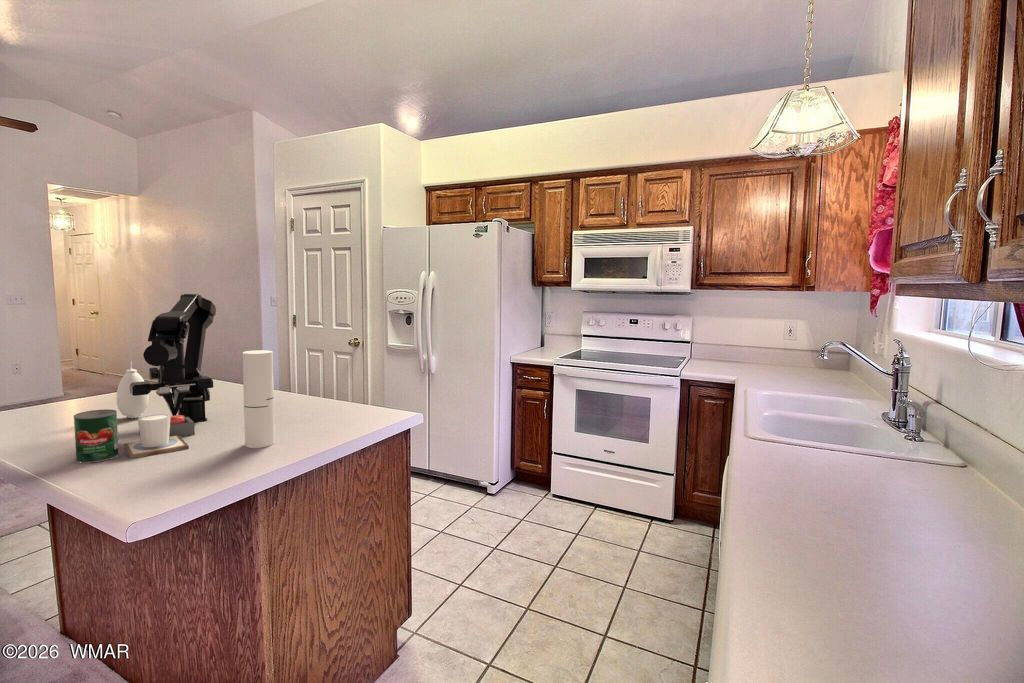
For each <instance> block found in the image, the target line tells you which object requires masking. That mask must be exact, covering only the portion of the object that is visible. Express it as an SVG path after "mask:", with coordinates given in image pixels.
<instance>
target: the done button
mask: <svg viewBox="0 0 1024 683" xmlns="http://www.w3.org/2000/svg"><path fill="white" fill-rule="evenodd" d="M170 416H171V417H170V425H173V424H180V423H185V419H184V416H183V415H178V414H177V415H176V416H173V415H170Z"/></svg>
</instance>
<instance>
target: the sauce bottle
mask: <svg viewBox="0 0 1024 683" xmlns="http://www.w3.org/2000/svg"><path fill="white" fill-rule="evenodd" d="M129 368H130V369H126V370H125V374H124V375H123V376H122V378H121V379H120V380H119V384H118V386H117V390H116V398H115V401H116V407H117V409H118V411H119V412H120V414H121V415H122V416H126V418H127V419H128V418H129V419H130V418H132V420H134V419H133V418H135V419H138V418H140V417H141V416H142V415H143V414H145V412H146V411H147V409H148V407H149V406H148V405H149V400H150V397H149V396H150V393H149V394H148V395H138V396H133V395H132V394H131V393H130V384H131V383H132V382H144V381H145V380H144V378H143V376H142V375H141V374H140V373H138V370H137V369H134V368H133V363H132V361H130V367H129ZM137 417H138V418H137Z"/></svg>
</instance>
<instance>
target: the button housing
mask: <svg viewBox="0 0 1024 683" xmlns="http://www.w3.org/2000/svg"><path fill="white" fill-rule="evenodd" d="M184 419H185V423H180V424H173V425H170V432H169V437H170V436H176V435H179V436H182V437H186V436H185V435H188V436H192V435H191V434H194V435H195V434H196V431H195V422H193V421H192V420H191V419H190V418H189V417H184Z"/></svg>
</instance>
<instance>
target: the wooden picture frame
mask: <svg viewBox="0 0 1024 683" xmlns="http://www.w3.org/2000/svg"><path fill="white" fill-rule="evenodd" d="M122 445H123V446H124V447H123V448H124V450H125V452H126V451H127V452H126V454H127V453H128V454H127V456H128V455H129V456H128V457H129V459H130V458H132V459H136V458H135V457H137V458H143V457H148V455H149V456H153V455H154V456H155V455H159V453H161V454H166V453H170V452H171V453H172V452H177V451H178V452H179V451H182V450H183V449H184V450H188V449H190V448H189V447H190V446H189V444H188V443H187V442H186V441H185V440H184V439H183V438H182V437H180V436H179V435H176V436H170V437H169V443H168V444H165V445H162V446H157V447H143V446H142V442H141V440H138V441H132V442H124V443H123V444H122ZM142 456H143V457H142Z"/></svg>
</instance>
